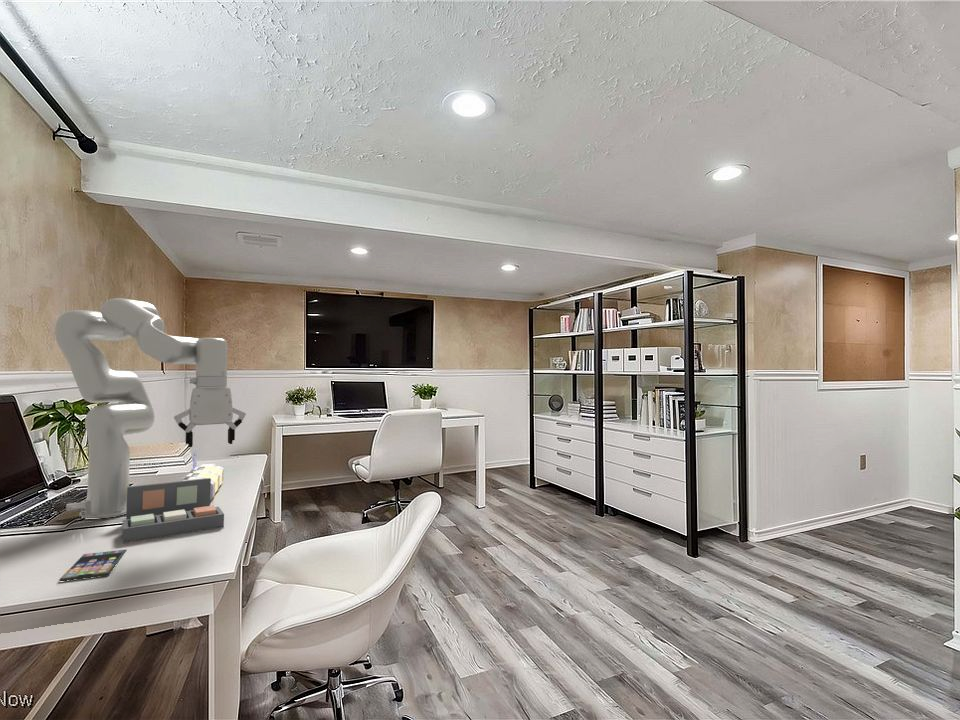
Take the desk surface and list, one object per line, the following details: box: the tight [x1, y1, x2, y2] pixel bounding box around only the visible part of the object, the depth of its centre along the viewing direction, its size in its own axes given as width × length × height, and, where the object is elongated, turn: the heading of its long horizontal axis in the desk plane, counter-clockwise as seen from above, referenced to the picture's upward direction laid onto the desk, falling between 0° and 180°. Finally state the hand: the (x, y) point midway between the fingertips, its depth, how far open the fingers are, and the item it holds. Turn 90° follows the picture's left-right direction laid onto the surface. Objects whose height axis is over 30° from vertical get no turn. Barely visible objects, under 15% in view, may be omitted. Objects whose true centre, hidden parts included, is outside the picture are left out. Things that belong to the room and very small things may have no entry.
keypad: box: [121, 478, 225, 544], centre depth 132 cm, size 22×19×10 cm
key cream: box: [163, 510, 187, 522], centre depth 128 cm, size 5×5×2 cm
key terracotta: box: [193, 505, 216, 517], centre depth 132 cm, size 5×5×2 cm
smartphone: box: [58, 549, 127, 582], centre depth 105 cm, size 8×15×1 cm, turn 25°
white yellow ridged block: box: [181, 451, 225, 501], centre depth 163 cm, size 25×10×13 cm, turn 21°
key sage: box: [130, 514, 155, 527], centre depth 123 cm, size 5×5×2 cm
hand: (210, 444), depth 133 cm, fingers open, 9 cm apart
